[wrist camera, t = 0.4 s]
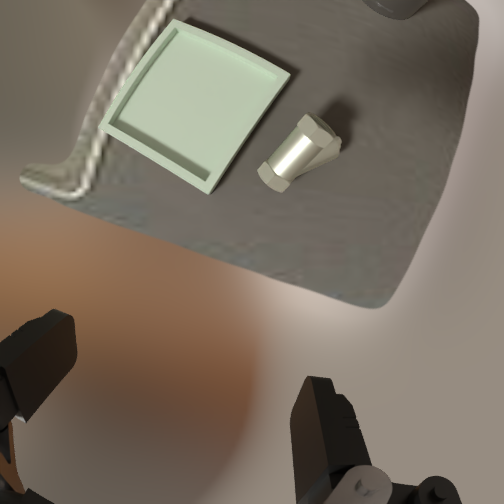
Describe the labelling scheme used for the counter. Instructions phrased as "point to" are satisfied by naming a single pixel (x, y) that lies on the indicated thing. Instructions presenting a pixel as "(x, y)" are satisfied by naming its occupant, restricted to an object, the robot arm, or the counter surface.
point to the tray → (193, 103)
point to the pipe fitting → (300, 152)
